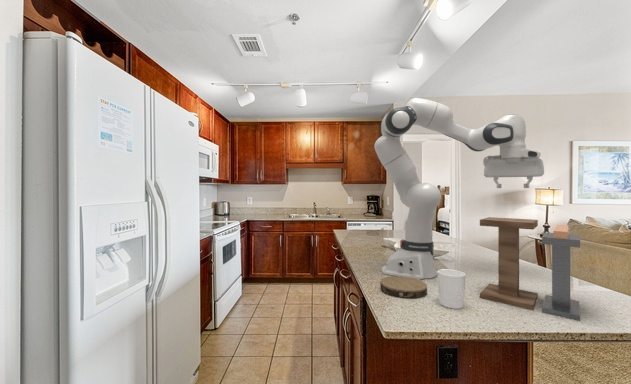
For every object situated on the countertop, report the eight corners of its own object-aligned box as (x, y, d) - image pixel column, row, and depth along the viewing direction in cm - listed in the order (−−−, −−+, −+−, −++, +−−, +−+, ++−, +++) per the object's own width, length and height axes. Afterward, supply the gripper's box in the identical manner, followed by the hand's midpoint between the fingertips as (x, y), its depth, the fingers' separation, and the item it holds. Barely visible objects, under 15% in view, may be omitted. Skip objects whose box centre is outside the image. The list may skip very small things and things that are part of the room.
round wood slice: (435, 292, 97) (435, 283, 97) (412, 303, 87) (412, 294, 87) (396, 281, 109) (396, 273, 109) (371, 290, 99) (371, 282, 99)
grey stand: (545, 299, 90) (545, 232, 90) (579, 306, 85) (579, 234, 85) (542, 312, 80) (542, 237, 80) (580, 321, 74) (580, 240, 75)
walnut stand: (489, 287, 101) (489, 217, 101) (537, 297, 92) (537, 219, 92) (479, 298, 91) (479, 219, 91) (533, 310, 81) (533, 222, 81)
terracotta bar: (556, 230, 95) (556, 224, 95) (568, 231, 93) (568, 225, 93) (553, 237, 79) (553, 230, 79) (567, 239, 77) (567, 231, 77)
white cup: (464, 312, 80) (464, 277, 80) (435, 306, 84) (435, 273, 84) (466, 303, 87) (466, 271, 87) (439, 297, 91) (439, 267, 91)
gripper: (484, 155, 115) (484, 188, 115) (545, 152, 107) (545, 187, 107) (482, 156, 121) (482, 188, 120) (539, 154, 113) (539, 188, 112)
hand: (512, 188), depth 113 cm, fingers open, 8 cm apart
